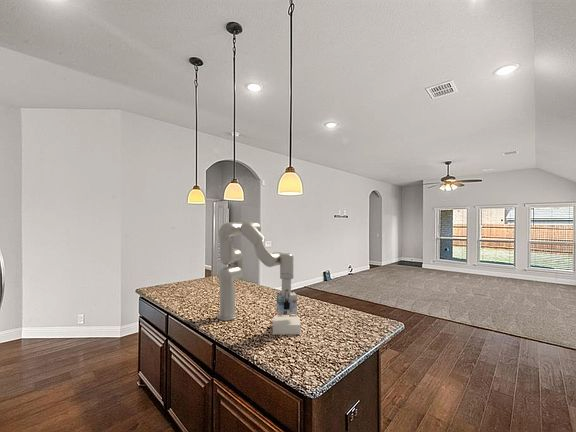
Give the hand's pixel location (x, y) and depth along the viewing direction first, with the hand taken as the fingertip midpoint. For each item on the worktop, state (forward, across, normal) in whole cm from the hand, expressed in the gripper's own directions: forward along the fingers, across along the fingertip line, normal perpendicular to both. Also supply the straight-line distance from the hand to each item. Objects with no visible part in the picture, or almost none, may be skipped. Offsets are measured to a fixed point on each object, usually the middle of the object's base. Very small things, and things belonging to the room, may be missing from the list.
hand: (286, 306), depth 157 cm
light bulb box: (+4, 0, 0) cm, 4 cm away
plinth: (+13, 0, 0) cm, 13 cm away
